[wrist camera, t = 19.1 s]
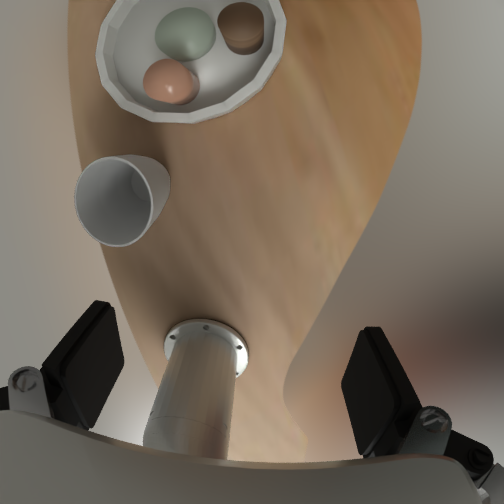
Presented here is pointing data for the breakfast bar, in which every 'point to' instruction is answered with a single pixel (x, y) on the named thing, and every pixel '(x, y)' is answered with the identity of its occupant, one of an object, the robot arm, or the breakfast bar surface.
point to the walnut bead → (242, 27)
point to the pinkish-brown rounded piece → (171, 82)
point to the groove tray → (211, 70)
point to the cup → (121, 197)
